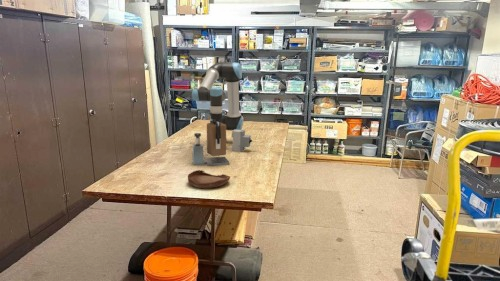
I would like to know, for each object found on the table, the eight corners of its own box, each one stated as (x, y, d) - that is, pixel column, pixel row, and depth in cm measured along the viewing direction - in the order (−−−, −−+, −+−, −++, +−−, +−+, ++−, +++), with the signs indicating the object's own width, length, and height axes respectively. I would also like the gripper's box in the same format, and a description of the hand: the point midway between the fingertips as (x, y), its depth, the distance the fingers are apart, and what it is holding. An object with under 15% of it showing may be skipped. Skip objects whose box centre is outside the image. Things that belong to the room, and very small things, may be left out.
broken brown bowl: (231, 178, 191) (231, 169, 190) (228, 191, 171) (228, 181, 170) (192, 176, 192) (191, 168, 191) (184, 189, 172) (183, 180, 171)
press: (192, 160, 223) (191, 143, 220) (224, 158, 229) (224, 141, 226) (194, 166, 210) (194, 148, 207) (229, 164, 215) (229, 146, 213)
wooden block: (212, 156, 212) (211, 125, 208) (206, 153, 221) (206, 122, 217) (226, 155, 217) (226, 124, 212) (220, 151, 225) (220, 121, 221)
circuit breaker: (250, 152, 246) (250, 132, 243) (231, 151, 249) (231, 131, 246) (252, 150, 253) (252, 130, 250) (234, 148, 256) (234, 129, 253)
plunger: (194, 147, 216) (194, 133, 214) (200, 147, 217) (200, 132, 215) (195, 149, 212) (194, 134, 210) (201, 148, 213) (201, 134, 211)
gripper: (207, 110, 223) (207, 142, 228) (213, 115, 201) (213, 151, 206) (218, 110, 225) (218, 142, 230) (226, 115, 203) (225, 150, 208)
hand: (216, 146), depth 218 cm, fingers closed on wooden block, 11 cm apart
